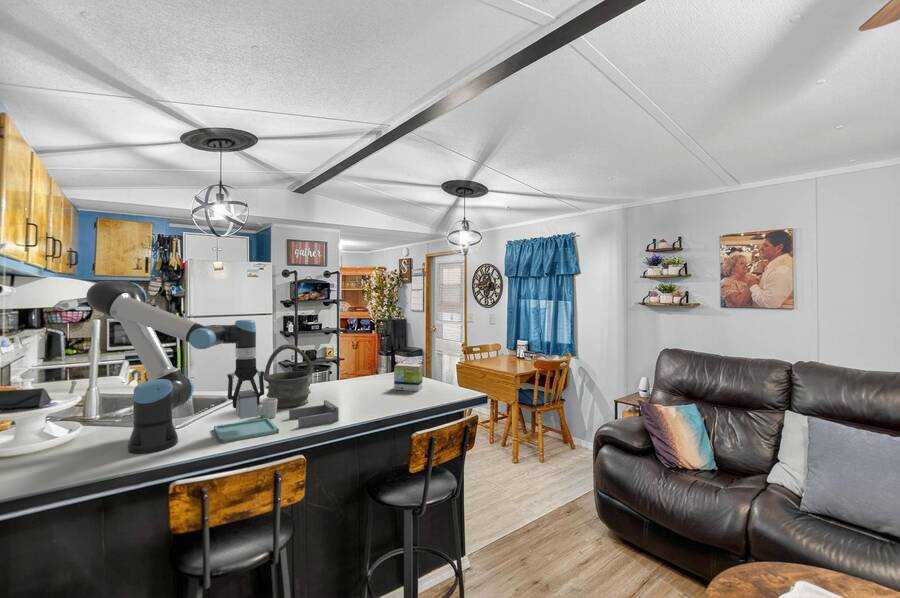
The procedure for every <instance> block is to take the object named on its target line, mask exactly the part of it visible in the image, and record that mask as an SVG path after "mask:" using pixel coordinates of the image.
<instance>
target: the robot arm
mask: <svg viewBox="0 0 900 598" xmlns="http://www.w3.org/2000/svg"><path fill="white" fill-rule="evenodd" d="M85 298H86V302H87V304H88V305H89V307H90V308H91V309H92V310H95V311H97V312H99V313H100V314H101V313H102V314H104V315H106V316H110V317H111V318H112V319H113V321H114V322H118V323H120V324H121V326H122V328H123V330H124V332H125V333H126V336H127V338H128V340H129V342H130V343H131V345H132V348H133V349H134V351H135V353H136V355H137V356H138V359H139V360H140V362H141V365H142V366H143V367H144V370H145V372H146V375H147V376H148V380H146V381H144V382H141V383H138V384H137V385H136V386H135V387H134V389H133V395H132V400H133V403H132V404H133V429H132V432H131V434H130V437H129V440H128V443H127V451H128V453H132V454H148V453H156V452H160V451H164V450H167V449H169V448H172V447H174V446H176V445H178V443H179V438H178V437H179V436H178V434H177V431H176V429H175V426H174V423H173V410H174V409H176V408H178V407H180V406H182V405H184V404H185V403H186V402H187V401H189V400H190V399H191V397H192V396H193V393H194V383H193V381H192V380H191V378H190V377H189V376H186V375H183V373H182V371H181V369H180V368H178V367H175V366H173V364H172V361H171V360H170V357H169V356H168V354H167V352H166V350H165V348H164V346H163V345H162V342H161V341H160V339H159V337H158V335H157V333H156V332H155V331H157V332H160V333H163V334H165V335H168V336H171V337H173V338H176V339H179V340H181V341H184V342H186V343H187V342H188V343H189V344H190V345H191V346H192V347H193V348H194V349H196V350H197V349H198V350H206V349H209V348H211V347H215V346H218V345H221V344H224V345H225V344H235V358H236V359H235V370H234V372H232V373H227V379H228V381H227V382H228V383H227V399H228V400H230V401H232V407H233V409H235V416H236V417H238V418H239V400H238V399H237V397H238V394H239V391H241V387H242V384H243V383H244V382H246V381H249V382H250V384H251V387H252V390H253V391H254V392H255V393H256V394H257V406H259V404H260V398H261V396H264V395H265V386H264V385H265V383H264V372H265V370H258V369H257V358H256V356H257V344H256V343H257V330H256V329H257V328H256V327H257V326H256V321H255V320H254V319H236V321H235V323H234V324H207V325H203V324H200V323H197V322H196V321H192V320H190V319H187V318H184V317H182V316H180V315H178V314H175V313H172V312H169V311H167V310H165V309H161V308H159V307H156V306H153V305H152V304H149V303H147V298H148V297H147V293H146V291H145V289H144V287H142V286H140V285H139V284H137V283H135V282H130V281H124V280H119V281H113V280H111V281H110V280H102V281H99V282H95V283H94V284H93V285H91V286H90V287H89V289H88V290H87V292H86V297H85ZM256 375H258V382H259V390H258V386H257V384H256V382H255V376H256ZM235 376H236V378H237V383H236V386H235V388H234V392H233V385H234V384H233V383H234V380H233V379H235Z"/></svg>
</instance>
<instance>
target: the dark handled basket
mask: <svg viewBox="0 0 900 598" xmlns="http://www.w3.org/2000/svg"><path fill="white" fill-rule="evenodd" d="M285 350H292V351H295V352H296V353H297V354H299V355H300V356H301V357H302V358H303V360H304V361H305V363H306V366H307V370H305V371H302V370H301V371H296V370H295V371H284V372H276V373H272V374H271V373H270V372H271V371H270V369H271V366H272V364H273V361H274V360H275V358H276V357H277V356H278V354H280V353H281V352H283V351H285ZM314 369H315V368H314V365H313V363H312V361H311V360H310V358H309V357H308V355H307V354H306V353H305V352H304V351H303V350H302V349H300V348H299V347H298V346H296V345H295V344H291V343H289V344H288V343H287V344H281V346H278V347H277V348H276V349H275V350H273V352H272V353H271V355H270V356H269V358H268V360H267V363H266V366H265V370H264V376H263V381H265V382H267V384H268V385H267V386H265V388H266V389H267V393H266V395H265V396H266V398H277V400H278V401H277V409H287V408H288V409H289V408H296V407H301V406H304V405H306V404H308V403H309V399H308V398H309V395H310V394H311V393H312V391H311V389H310V387H311V383H309V382H308V381H309V378H311V376H312V375H313V374H314Z"/></svg>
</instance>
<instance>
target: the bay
mask: <svg viewBox="0 0 900 598" xmlns="http://www.w3.org/2000/svg"><path fill="white" fill-rule="evenodd" d="M339 409H340V408H339V407H338V406H337V405H335V404H333V403H332V402H330V400H329V401H328V400H327V399H325V400H323V404H319V405H313V406H307V407H300V408H292V409H289V410H288V419H289V420H295V419H297V424H298V425H297V427H298V429H302V428H303V429H304V428H309V427H314V426H318V425H319V424H320V425H325V424H329V423H330V422H331V423H336V422H335V421H337V422H339V415H340V414H339V412H340V410H339Z"/></svg>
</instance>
